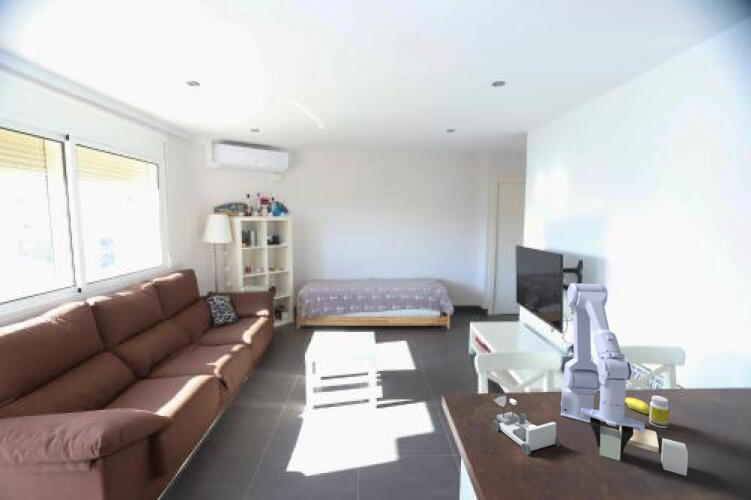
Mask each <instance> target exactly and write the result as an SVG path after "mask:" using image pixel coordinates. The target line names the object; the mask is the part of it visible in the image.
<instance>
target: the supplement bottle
mask: <svg viewBox="0 0 751 500" xmlns="http://www.w3.org/2000/svg"><path fill="white" fill-rule="evenodd" d="M668 404H669V400H668V398H666V397H663V396H661V395H652V396H651V401H650V403H649V407H650V412H649V414H648V415H649V416H648V422H649V424H651V425H652V426H654V427H656V428H661V429H667V428H668V427H669V413H670V407H669V406H668Z"/></svg>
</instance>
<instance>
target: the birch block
mask: <svg viewBox="0 0 751 500" xmlns="http://www.w3.org/2000/svg"><path fill="white" fill-rule="evenodd" d="M618 426H619V425H618ZM618 428H619V431H621V426H619V427H618ZM626 445H629V446H633V447H637V448H640V449H644V450H647V451H651V452H655V453H660V451H659V450H660V447H659V440H658V436H657V432H656V431H654V430H651V429H646V428H644V433H643V432H640V431H639V430H636V429H633V436H632V437H631V438H630V440H629V441H628V442H627V444H626Z"/></svg>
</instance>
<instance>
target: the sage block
mask: <svg viewBox="0 0 751 500" xmlns="http://www.w3.org/2000/svg"><path fill="white" fill-rule="evenodd" d="M620 450H621V431H619V430H617V429H615V428H611V427H606V426H602V425H600V447H599V456H602V457H605V458H609V459H613V460H615V461H619V462H620V461H621V453H620Z"/></svg>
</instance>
